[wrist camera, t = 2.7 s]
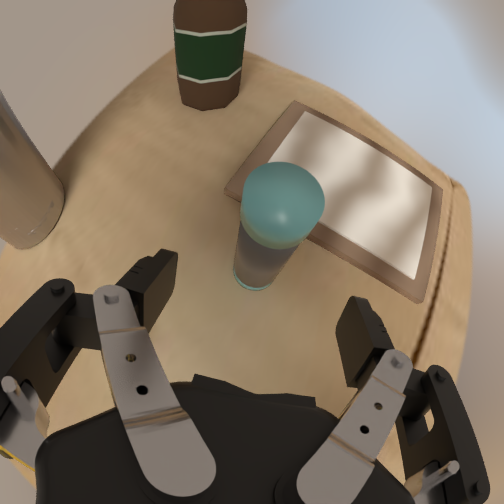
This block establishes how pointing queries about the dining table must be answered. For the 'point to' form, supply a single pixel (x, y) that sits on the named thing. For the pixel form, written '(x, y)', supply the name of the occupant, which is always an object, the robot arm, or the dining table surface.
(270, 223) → the teal-capped glass tube
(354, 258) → the writing board
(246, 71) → the dining table surface
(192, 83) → the beer bottle
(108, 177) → the dining table surface
